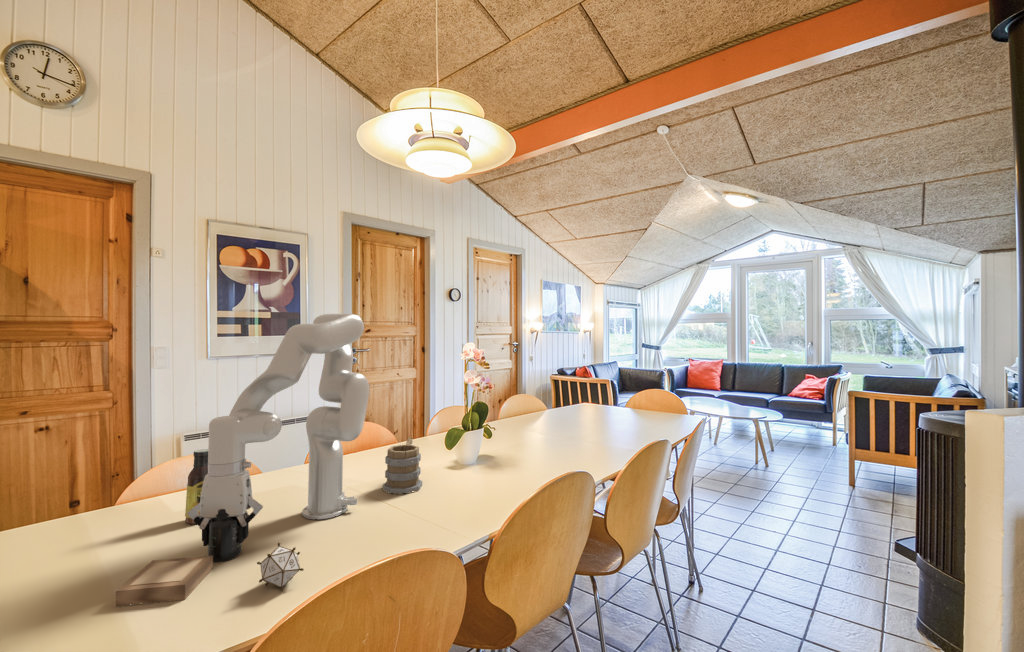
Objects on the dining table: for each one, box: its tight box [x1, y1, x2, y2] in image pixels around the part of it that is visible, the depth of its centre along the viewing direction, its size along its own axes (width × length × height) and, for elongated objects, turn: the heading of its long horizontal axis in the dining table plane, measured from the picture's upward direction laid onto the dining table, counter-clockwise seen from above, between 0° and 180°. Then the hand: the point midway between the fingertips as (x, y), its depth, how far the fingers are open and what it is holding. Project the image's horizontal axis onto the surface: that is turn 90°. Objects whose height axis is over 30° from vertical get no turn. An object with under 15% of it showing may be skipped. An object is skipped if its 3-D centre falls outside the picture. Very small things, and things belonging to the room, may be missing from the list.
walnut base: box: [115, 555, 214, 607], centre depth 93 cm, size 12×12×3 cm
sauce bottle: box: [184, 448, 208, 525], centre depth 126 cm, size 6×6×20 cm
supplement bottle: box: [207, 509, 243, 563], centre depth 106 cm, size 7×7×12 cm
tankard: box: [382, 437, 423, 494], centre depth 158 cm, size 20×13×15 cm, turn 179°
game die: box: [256, 542, 305, 593], centre depth 93 cm, size 9×8×10 cm
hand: (225, 541), depth 106 cm, fingers closed on supplement bottle, 6 cm apart
